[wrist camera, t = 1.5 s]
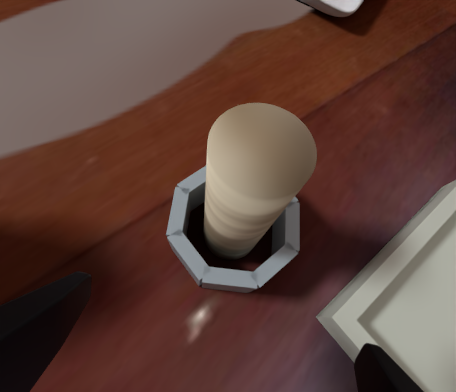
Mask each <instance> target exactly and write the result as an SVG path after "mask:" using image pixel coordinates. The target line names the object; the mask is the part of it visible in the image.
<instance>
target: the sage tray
mask: <svg viewBox="0 0 456 392" xmlns="http://www.w3.org/2000/svg"><path fill="white" fill-rule="evenodd" d="M316 318H317V319H318V320H319V321H320V323H321V324H322V325H323V326H324V327H325V329H326V330H327V331H328V332H329V333H330V335H331V336H332V337H333V338H334V339H335V341H336V342H337V343H338V344H339V345H340V347H341V348H342V349H343V350H344V351H345V352H346V354H347V355H348V356H349V357H350V358H351V360H352V361H353V362H355V359H356V357H357V355H358V354H359V352H360V350H361V348H362V347H363V345H364V344H365V343H371V344H375V345H378V346H380V347H381V348H382V349H383V350H384V351H385V352H386V353H387V354H388V355H389V356H390V357H391V358H392V359H393V360H394V361H395V362H396V363H397V364H398V365H399V366H400V367H401V368H402V369H403V370H404V371H405V372H406V374H407V375H408V376H409V377H410V378H411V379H412V380H413V381H414V382H415V383H416V384H417V385H418V386H419V387H420V388H421V389H422V390H423V391H424V392H456V180H455V181H453V182H451V183H449V184H447V185H445V186H443V187H442V188H441V189H440V190H439V191H438V192H437V193H436V194H435V195H434V196H433V197H432V198H431V199H430V200H429V201H428V202H427V203H426V204H425V205H424V206H423V207H422V208H421V209H420V210H419V211H418V212H417V214H416V215H415V216H414V217H413V218H412V219H411V220H410V221H409V222H408V223H407V224H406V225H405V226H404V227H403V228H402V229H401V230H400V231H399V232H398V233H397V234H396V235H395V236H394V237H393V238H392V239H391V240H390V241H389V242H388V243H387V244H386V245H385V246H384V247H383V248H382V249H381V250H380V251H379V252H378V253H377V255H376V256H375V257H374V258H373V259H372V260H371V261H370V262H369V263H368V264H367V265H366V266H365V267H364V268H363V269H362V270H361V271H360V272H359V273H358V274H357V275H356V276H355V277H354V278H353V279H352V280H351V281H350V282H349V283H348V284H347V285H346V286H345V287H344V288H343V289H342V290H341V291H340V292H339V293H338V295H337V296H336V297H335V298H334V299H333V300H332V301H331V302H330V303H329V304H328V305H327V306H326V307H325V308H324V309H323V310H322V311H321V312H320V313H319V314H318V315H317V316H316Z"/></svg>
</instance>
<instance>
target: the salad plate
mask: <svg viewBox="0 0 456 392" xmlns="http://www.w3.org/2000/svg"><path fill="white" fill-rule="evenodd" d="M296 1H298V2H300V3H302V4H304V5H306V6H309V7H311V8H313V7H314V8H315V9H317V10H319V11H321V12H323V13H326V14H328V15H331V16H335V17H346V16H349V15H351V14H353V13H354V12H355V11H356V10H357V9H358V8H359V7H360V5H361V4H362V2H363V1H364V0H296Z"/></svg>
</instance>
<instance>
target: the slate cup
mask: <svg viewBox="0 0 456 392" xmlns="http://www.w3.org/2000/svg"><path fill="white" fill-rule="evenodd" d="M177 186H178V187H175V192H174V197H173V202H172V208H171V213H170V218H169V223H168V228H167V233H166V235H167V239H168V241H169V243H170V246H171V248H172V250H173V252H174V253H175V254H176V256H177V257H178V258H179V260H180V261H181V262H182V264H183V265H184V266H185V268H186V269H187V270H188V272H189V273H190V274H191V276H192V277H193V279H194V280H195V281H196V283H197V284H198V285H199V286H200V285H202V288H208V289H217V290H226V291H235V292H243V293H248V292H251V291H253V290H256V289H258V288H260V287H261V286H263V285H264V284H265V283H266V282H267V281H268V280H269V279H270V278H271V277H273V276H274V275H275V274H276V273H277V272H278V271H279V270H280V269H282V268H283V267H284V266H285V265H286V264H287V263H288V262H289V261H290V260H292V259H293V258H294V257H295V256H296V255H297V254H298V251H300V203H297V201H298V199H297V198H296V197H294V198H293V199H292V201H291V202H290V203H289V204H288V206H287V207H286V208H285V209H284V210H283V212H282V213H281V214H280V215H279V217H278V218H277V219H276V220H275V222H274V223H273V226H272V252H271V257H269V258H268V259H267V260H266V261H265V262H264V263H262V264H261V265H260V266H259V267H258V268H257V269H255V270H254V271H253V272H250V271H242V270H233V269H225V268H216V267H209V266H208V265H207V264H206V262H205V261H204V260H203V258H202V257H201V256H200V254H199V253H198V252H197V251H196V249H195V248H194V247H193V245H192V244H191V243H190V241H189V240H188V239H187V238H186V237H187V231H188V225H189V219H190V212H191V211H192V210H193V209H195V208H196V207H198V206H199V205H201V204H202V203H203V202H205V187H206V166H205V167H203V168H202V169H200V170H199V171H197V172H196V173H194V174H192V175H191V176H189V177H188V178H186V179H185V180H183V181H182V182H180V183H179V184H177Z"/></svg>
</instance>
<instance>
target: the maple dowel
mask: <svg viewBox="0 0 456 392" xmlns="http://www.w3.org/2000/svg"><path fill="white" fill-rule="evenodd" d="M316 160H317V152H316V146H315V142H314V139H313V137H312V135H311V133H310V131H309V130H308V128H307V127H306V126H305V125H304V124H303V122H302V121H301V120H299V119H298V118H297V117H296V116H295V115H293V114H292V113H290V112H288V111H287V110H285V109H282V108H280V107H277V106H274V105H270V104H265V103H248V104H243V105H239V106H236V107H233V108H231V109H229V110H228V111H226V112H225V113H223V114H222V115H221V116H220V117H219V118H218V119H217V120H216V121H215V123H214V124H213V126H212V128H211V130H210V132H209V136H208V143H207V164H206V187H205V210H204V241H205V243H206V245H207V247H208V249H209V250H210V251H211V252H212V253H213V254H214V255H215V256H217V257H219V258H221V259H225V260H237V259H240V258H242V257H244V256H246V255H247V254H248V253H249V252H250V251H251V250H252V249H253V248H254V246H255V245H256V244H257V243H258V241H259V240H260V239H261V238H262V236H263V235H264V234H265V233H266V232H267V230H268V229H269V228H270V227H271V225H272V224H273V223H274V222H275V220H276V219H277V218H278V217H279V215H280V214H281V213H282V212H283V210H284V209H285V208H286V207H287V206H288V204H289V203H290V202H291V201H292V199H293V198H294V197H295V196H296V194H297V193H298V192H299V191H300V189H301V188H302V187H303V186H304V184H305V183H306V182H307V181H308V180H309V178H310V177H311V175H312V173H313V171H314V168H315V165H316Z"/></svg>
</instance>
